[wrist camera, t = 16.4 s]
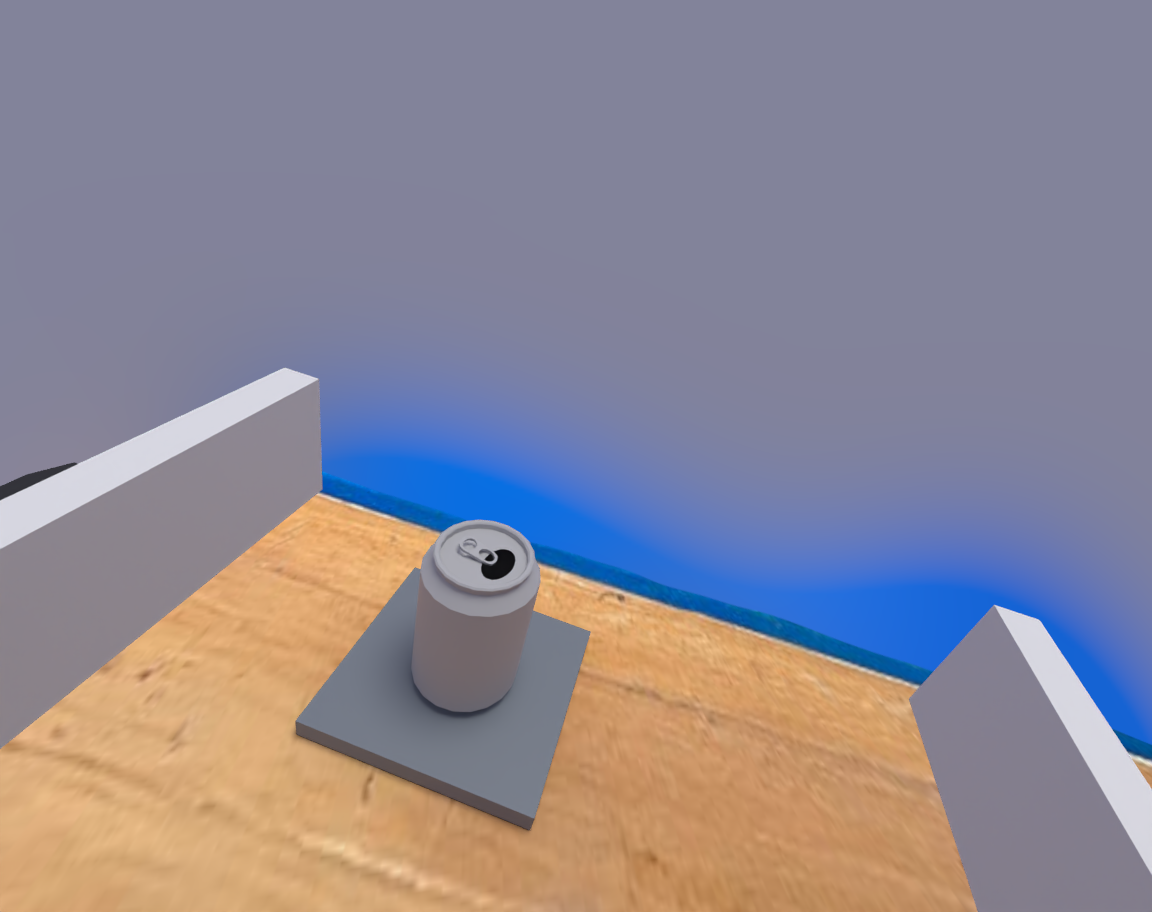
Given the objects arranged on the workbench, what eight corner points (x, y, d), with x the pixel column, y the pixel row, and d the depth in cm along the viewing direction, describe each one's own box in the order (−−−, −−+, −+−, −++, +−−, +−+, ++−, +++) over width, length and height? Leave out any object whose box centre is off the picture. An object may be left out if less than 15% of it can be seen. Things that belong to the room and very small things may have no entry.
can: (484, 739, 36) (512, 616, 29) (387, 688, 37) (395, 561, 31) (531, 655, 42) (563, 539, 36) (447, 614, 43) (464, 496, 37)
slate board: (586, 643, 46) (590, 631, 45) (529, 830, 33) (534, 818, 32) (413, 579, 47) (415, 567, 47) (296, 734, 35) (295, 721, 34)
